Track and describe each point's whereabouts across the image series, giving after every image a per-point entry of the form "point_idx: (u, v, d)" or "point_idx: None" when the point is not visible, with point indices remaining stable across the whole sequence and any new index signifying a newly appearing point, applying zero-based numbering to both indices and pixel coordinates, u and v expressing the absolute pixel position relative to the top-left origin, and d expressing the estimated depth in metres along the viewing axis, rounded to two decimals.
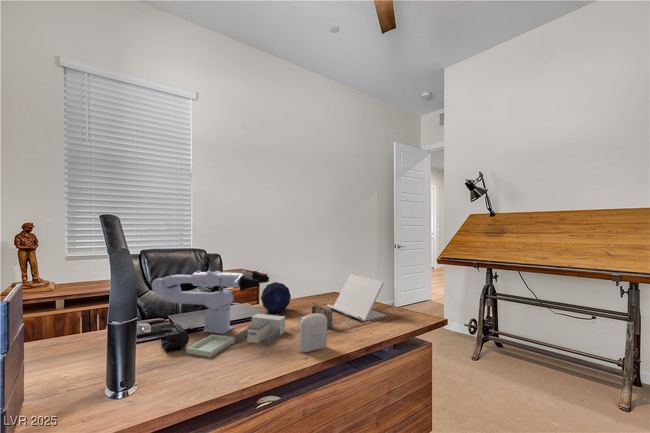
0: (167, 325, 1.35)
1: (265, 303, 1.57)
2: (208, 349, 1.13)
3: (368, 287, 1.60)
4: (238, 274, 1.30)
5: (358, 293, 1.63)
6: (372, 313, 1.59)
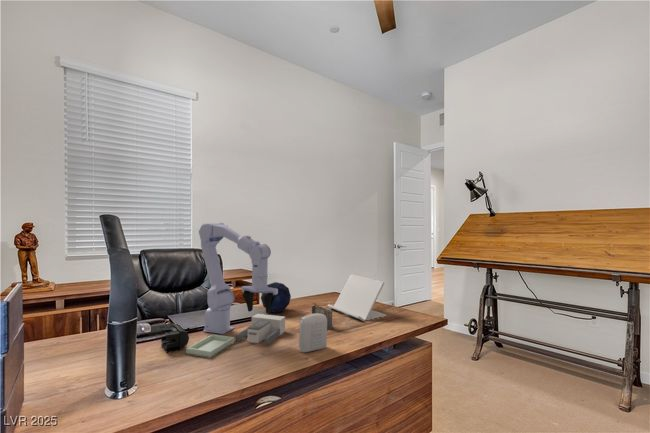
0: (167, 325, 1.35)
1: (265, 303, 1.57)
2: (208, 349, 1.13)
3: (368, 287, 1.60)
4: (253, 285, 1.23)
5: (358, 292, 1.63)
6: (372, 313, 1.59)
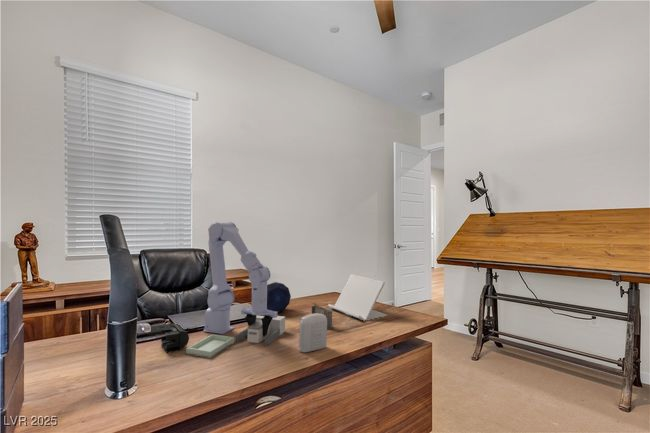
0: (167, 325, 1.35)
1: None
2: (208, 349, 1.13)
3: (369, 287, 1.61)
4: (253, 308, 1.23)
5: (359, 292, 1.63)
6: (373, 313, 1.60)
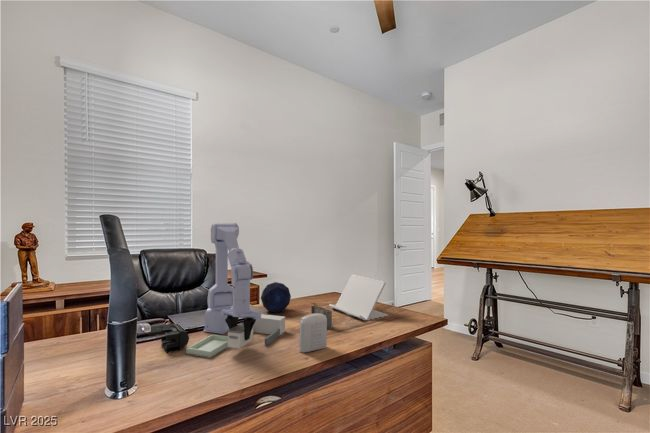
0: (167, 325, 1.35)
1: (265, 303, 1.57)
2: (208, 349, 1.13)
3: (370, 287, 1.61)
4: (234, 309, 1.11)
5: (360, 292, 1.64)
6: (374, 313, 1.60)
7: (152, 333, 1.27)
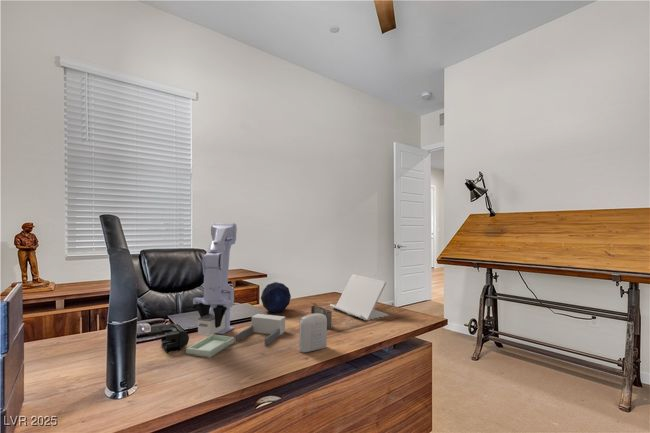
0: (167, 325, 1.35)
1: (265, 303, 1.57)
2: (208, 349, 1.13)
3: (370, 287, 1.61)
4: (204, 297, 1.13)
5: (360, 292, 1.64)
6: (374, 312, 1.60)
7: (152, 333, 1.27)
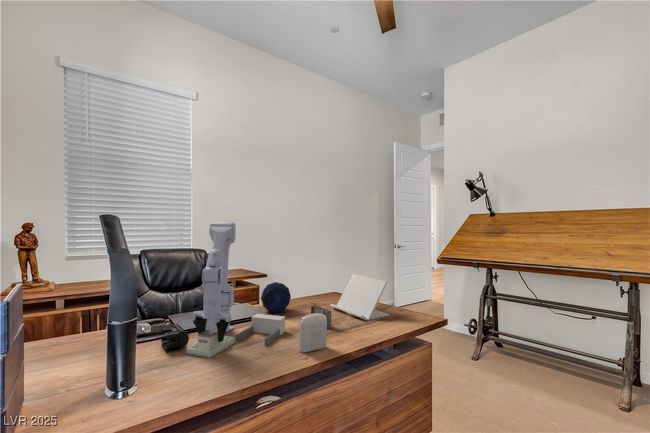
0: (167, 326, 1.35)
1: (265, 303, 1.57)
2: None
3: (371, 287, 1.61)
4: (204, 311, 1.13)
5: (361, 292, 1.64)
6: (375, 312, 1.60)
7: (151, 333, 1.27)
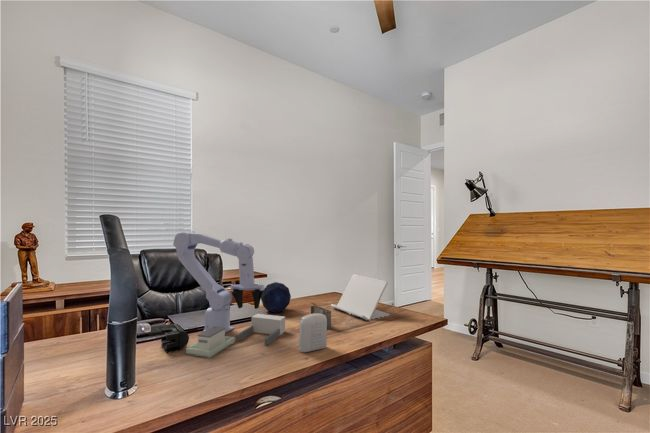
0: (167, 326, 1.34)
1: (265, 303, 1.57)
2: None
3: (372, 287, 1.62)
4: (241, 283, 1.31)
5: (362, 292, 1.64)
6: (376, 312, 1.61)
7: (151, 333, 1.26)
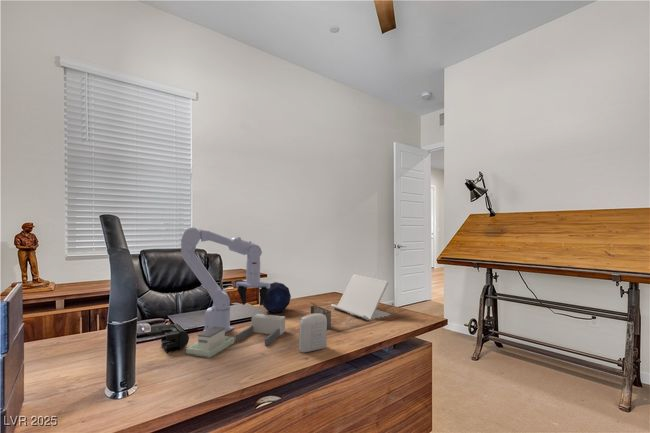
0: (167, 326, 1.34)
1: (265, 303, 1.57)
2: None
3: (372, 286, 1.62)
4: (248, 280, 1.36)
5: (362, 292, 1.64)
6: (376, 312, 1.61)
7: (150, 333, 1.26)
